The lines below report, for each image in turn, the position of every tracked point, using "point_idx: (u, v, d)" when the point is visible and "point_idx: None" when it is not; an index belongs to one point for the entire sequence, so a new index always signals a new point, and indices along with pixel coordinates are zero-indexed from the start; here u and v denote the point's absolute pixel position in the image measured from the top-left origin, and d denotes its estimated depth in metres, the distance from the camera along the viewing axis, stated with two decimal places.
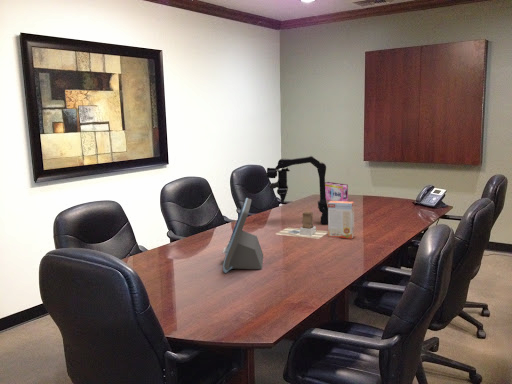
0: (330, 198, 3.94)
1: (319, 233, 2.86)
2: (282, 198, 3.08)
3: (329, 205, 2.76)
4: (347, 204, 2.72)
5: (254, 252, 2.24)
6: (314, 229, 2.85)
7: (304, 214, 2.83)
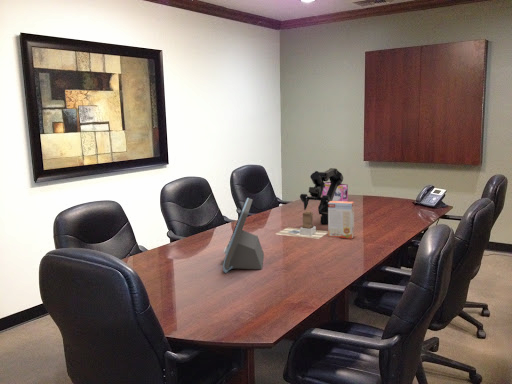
0: None
1: (319, 233, 2.86)
2: (321, 206, 2.90)
3: (329, 205, 2.76)
4: (347, 204, 2.72)
5: (254, 252, 2.24)
6: (314, 229, 2.85)
7: (304, 214, 2.83)
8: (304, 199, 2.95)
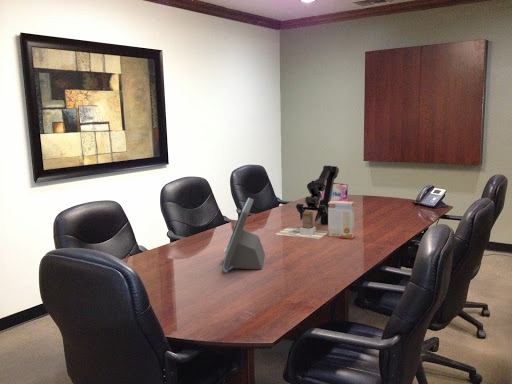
0: None
1: (319, 233, 2.86)
2: (318, 216, 2.84)
3: (329, 205, 2.76)
4: (347, 204, 2.72)
5: (254, 252, 2.24)
6: (314, 229, 2.85)
7: (304, 214, 2.83)
8: (300, 209, 2.89)
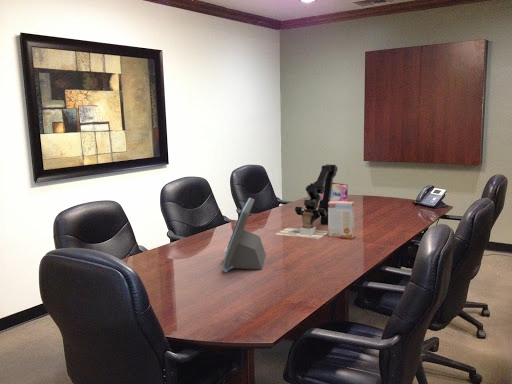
0: (330, 198, 3.94)
1: (319, 233, 2.86)
2: (314, 219, 2.84)
3: (329, 205, 2.76)
4: (347, 204, 2.72)
5: (254, 252, 2.24)
6: (314, 229, 2.85)
7: (304, 214, 2.83)
8: (302, 212, 2.87)
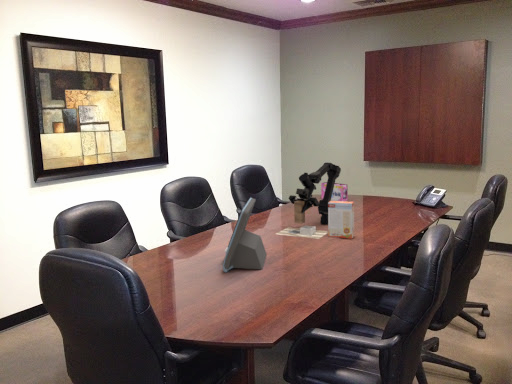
0: None
1: (319, 233, 2.86)
2: (305, 208, 2.85)
3: (329, 205, 2.76)
4: (347, 204, 2.72)
5: (254, 252, 2.24)
6: (314, 229, 2.85)
7: (295, 203, 2.85)
8: None
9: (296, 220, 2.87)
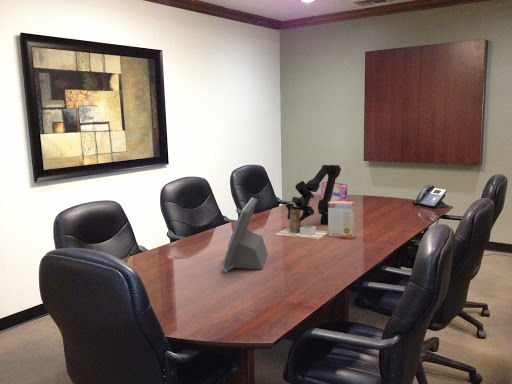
0: None
1: (319, 233, 2.86)
2: (303, 217, 2.87)
3: (329, 205, 2.76)
4: (347, 204, 2.72)
5: (255, 252, 2.24)
6: (314, 229, 2.85)
7: (291, 212, 2.89)
8: (289, 208, 2.94)
9: (291, 229, 2.90)
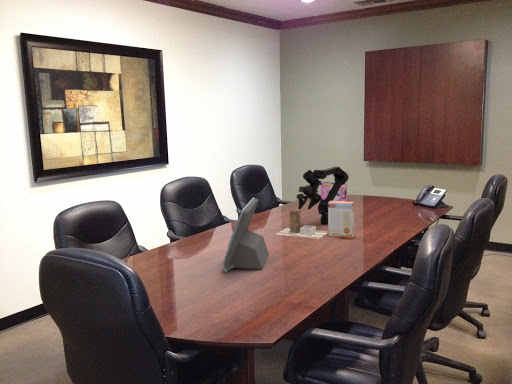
0: None
1: (319, 233, 2.86)
2: (311, 204, 2.92)
3: (329, 205, 2.76)
4: (347, 204, 2.72)
5: (255, 252, 2.24)
6: (314, 229, 2.85)
7: (291, 212, 2.89)
8: (299, 199, 3.01)
9: (291, 229, 2.90)
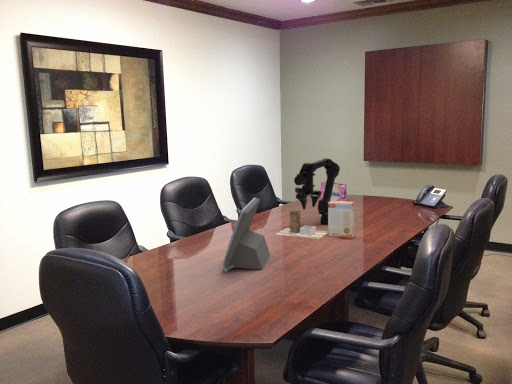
0: None
1: (319, 233, 2.86)
2: (303, 204, 2.95)
3: (329, 205, 2.76)
4: (347, 204, 2.72)
5: (255, 252, 2.24)
6: (314, 229, 2.85)
7: (291, 212, 2.89)
8: None
9: (291, 229, 2.90)
